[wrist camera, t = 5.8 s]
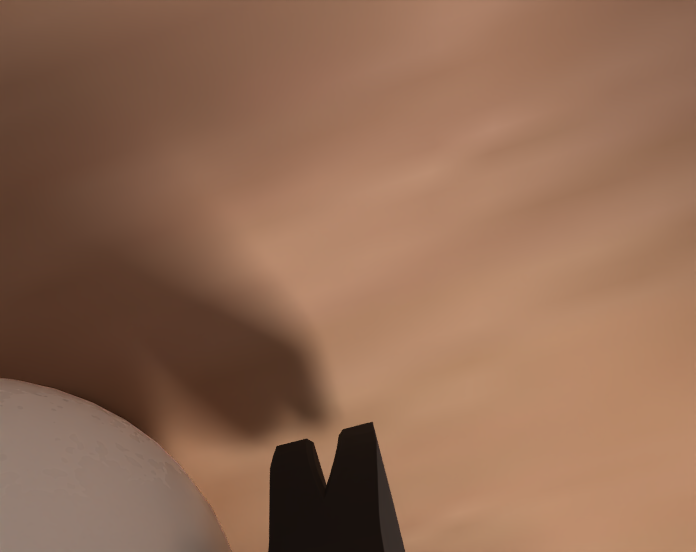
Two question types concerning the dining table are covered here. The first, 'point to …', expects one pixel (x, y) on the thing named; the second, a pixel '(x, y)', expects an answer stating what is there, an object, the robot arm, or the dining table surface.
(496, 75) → the dining table surface
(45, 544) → the lidded jar
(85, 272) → the dining table surface
